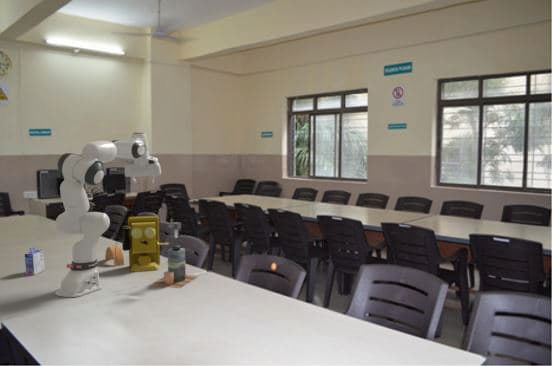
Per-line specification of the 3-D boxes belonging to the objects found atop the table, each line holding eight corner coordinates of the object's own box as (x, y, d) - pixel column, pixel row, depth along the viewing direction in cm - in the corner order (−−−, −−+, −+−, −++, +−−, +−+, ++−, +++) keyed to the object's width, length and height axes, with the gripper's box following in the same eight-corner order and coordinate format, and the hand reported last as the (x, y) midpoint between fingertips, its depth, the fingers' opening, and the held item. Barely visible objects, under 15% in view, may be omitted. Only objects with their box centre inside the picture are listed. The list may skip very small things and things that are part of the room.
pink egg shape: (170, 285, 231) (170, 274, 230) (162, 285, 232) (161, 273, 231) (175, 282, 235) (175, 271, 235) (167, 282, 237) (166, 270, 236)
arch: (114, 266, 273) (113, 250, 272) (105, 259, 289) (104, 244, 289) (124, 265, 276) (123, 249, 276) (114, 258, 293) (114, 243, 292)
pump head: (172, 241, 232) (171, 225, 231) (165, 240, 233) (164, 225, 232) (181, 237, 241) (181, 222, 241) (174, 237, 242) (174, 222, 242)
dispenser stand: (180, 291, 227) (179, 252, 225) (148, 287, 232) (147, 250, 230) (199, 278, 248) (199, 243, 246) (170, 275, 253) (169, 241, 251)
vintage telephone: (113, 273, 258) (111, 221, 256) (115, 267, 272) (113, 217, 269) (169, 269, 267) (168, 219, 264) (168, 263, 280) (167, 215, 277)
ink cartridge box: (36, 270, 265) (35, 245, 264) (45, 270, 265) (43, 246, 263) (25, 275, 255) (23, 249, 254) (34, 275, 255) (33, 250, 254)
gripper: (121, 162, 255) (124, 185, 259) (158, 160, 256) (160, 184, 260) (124, 159, 261) (127, 182, 265) (160, 158, 262) (162, 181, 266)
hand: (144, 183), depth 263 cm, fingers open, 8 cm apart
